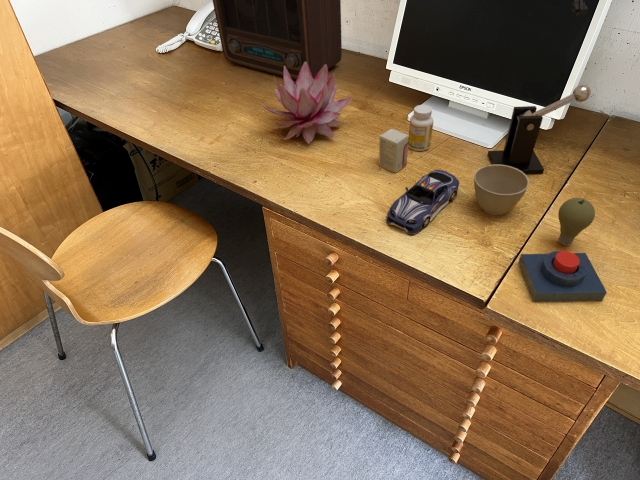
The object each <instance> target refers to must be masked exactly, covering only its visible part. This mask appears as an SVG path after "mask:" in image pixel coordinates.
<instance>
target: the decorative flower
mask: <svg viewBox="0 0 640 480" xmlns="http://www.w3.org/2000/svg"><path fill="white" fill-rule="evenodd" d="M282 77H283V84H281V83H280V84H279V83H278V81H277V79H276V77H275V76H273V79H274V85H275V86H276V88H274V93H275V95H276V98H277V101H278V102H279V103H280V105H281V106H282V107H283V108H284V109H285V111H284V110H280V109H275V108H272V107H271V108H270V107H269V106H266V105H265V104H262V103H260V105H261V107H263V108H264V109H265V110H267V111H268V112H270V113H271V114H274V115H277V116H280V117H283V118H285V119H286V120H280V119H273V118H272V121H274V122H276V123H278V124H281V125H279V126H276V127H274V129H276V130H280V129H287V128H289V127H291V129H290V130H289V131H288V133H287V134H286V136H285V137H284V138H283V141H287V140H289V139H291V138H292V137H295V136H296V138H297V137H299V136H300V135H301V134H302V136H303V139H304V140H305V142H306V143H307V144H308V145H309V144H310V143H312V141H313V140H314V138H315V135H316V134H317V135H318V136H320V137H322V135H323V136H327V137H332V138H333V137H335V134H334V132H333V130H332V129H331V126H334V127H335V126H339V125H341V124H343V122H341V121H340V120H337V119H338V118H339V117H340V116H341V115H342V113H340V112H341V111H342V110H343V109H344V108H346V107H347V105H348V104H349V103H350V102H351V101H352V99H353V97H352V96H351V97H346V98H343V99H337V100H335V96H336V93H337V87H338V84H337V83H335V80H336V79H335V78H336V72H333V73H332V75H331V76H330V72H329V69H328V68H327V64H325V65H324V66H323V67H322V68H321V70H320V71H319V72H318V74H317V75H316V76H315V78H314V79H313V78H312V74H311V71H310V69H309V66H308V64H307V62H304V64H303V66H302V68H301V70H300V72H299V75H298V78H297V79H296V81H295V82H294V81H293V78H291V77H290V75H289V73H288V71H287V69H286V67H285V66H284V72H283V76H282ZM286 110H287V111H286Z"/></svg>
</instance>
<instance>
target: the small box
mask: <svg viewBox="0 0 640 480" xmlns="http://www.w3.org/2000/svg"><path fill="white" fill-rule="evenodd" d="M408 137H409V134H406V133H404V132H402V131H400V130H397V129H394V128H390V129H387V130H386V131H385V132H383V133H382V134H380V135H379V146H378V147H379V148H378V165H379V167H381V168H384V169H385V170H387V171H390V172H392V173H394V174H396V173H398V172H399V171H401V170H402V169H404V168H405V167H406V166H407V164H408V150H409V149H408V148H409V146H408Z"/></svg>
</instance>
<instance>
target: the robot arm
mask: <svg viewBox="0 0 640 480" xmlns="http://www.w3.org/2000/svg"><path fill="white" fill-rule="evenodd" d="M573 7H574V8H573V9H572V8H571V12H572V13H573V14H575V12H577V14H576V16H575V17H578V16H577V15H580V14H583V13H585V14H586V13H588V11H589V10H588V7H587V6H586V5H585V3H584V2H583V0H574V4H573ZM587 10H588V11H587Z"/></svg>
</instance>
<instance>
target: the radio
mask: <svg viewBox="0 0 640 480" xmlns="http://www.w3.org/2000/svg"><path fill="white" fill-rule="evenodd" d="M341 3H342V1H341V0H212V5H213V9H214V15H215V20H216V24H217V30H218V34H219V35H218V36H219V40H220V45H221V50H222V53H223V56H224V58H225V59H226V61H227V62H231V63H233V64H237V65H241V66H244V67H248V68H251V69H253V70H254V69H255V70H259V71H262V72H265V73H270V74H273V75H278V76H282V77H283V72H284V66H285V67H286V69H287V71H288V73H289V75H290V77H291V79H292V80H297V78H298V75H299V72H300V70H301V68H302V66H303V64H304V62H307V64H308V66H309V69H310V71H311V74H312V78H313V79H314V78H315V76H316V75H317V74H318V72H319V71H320V70H321V68H322V67H323V66H324V65H325V64H327V68H328V70H330V69H331V68H333V67H334V66H335V65H337V64H338V63H340V62H341V60H342V54H343V53H342V52H343V51H342V6H341V5H342V4H341Z"/></svg>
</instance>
